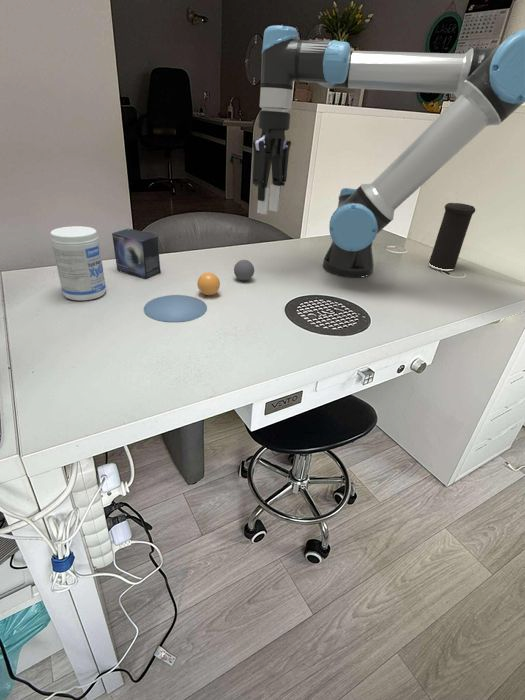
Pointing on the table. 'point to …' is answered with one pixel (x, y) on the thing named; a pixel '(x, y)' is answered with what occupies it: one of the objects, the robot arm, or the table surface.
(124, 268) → the small box
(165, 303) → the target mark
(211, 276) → the orange ball
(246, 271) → the charcoal ball
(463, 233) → the container
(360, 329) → the table surface
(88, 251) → the supplement tub
